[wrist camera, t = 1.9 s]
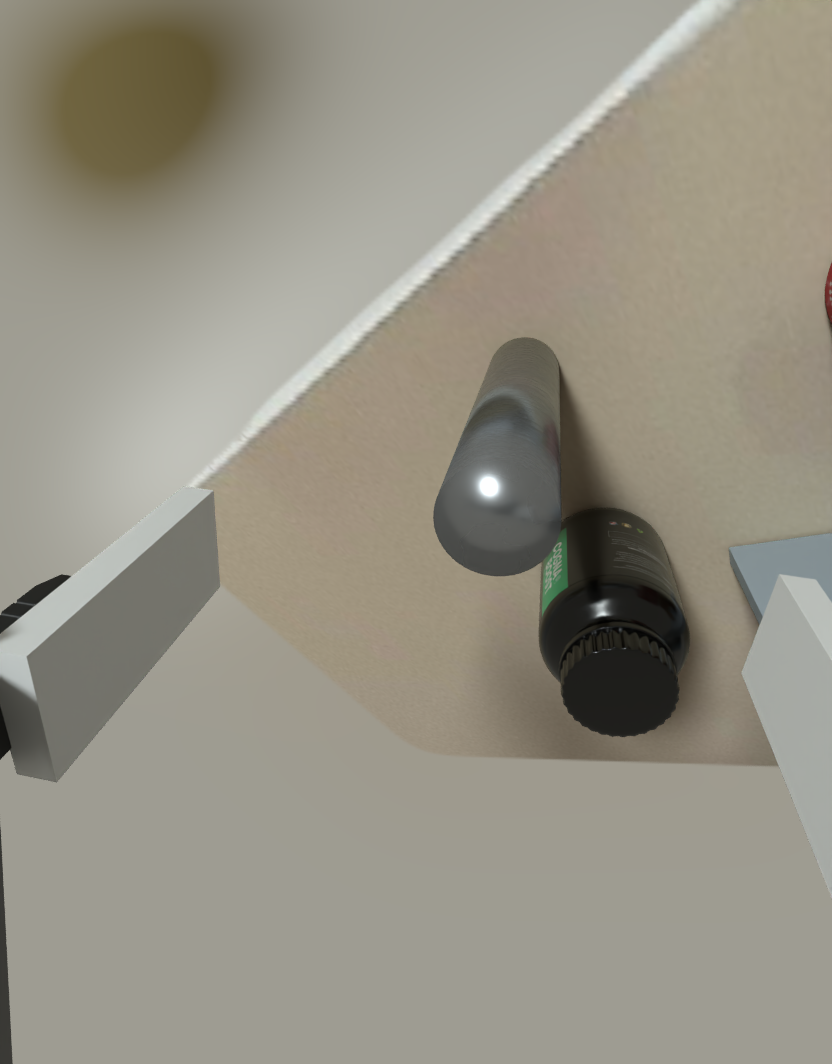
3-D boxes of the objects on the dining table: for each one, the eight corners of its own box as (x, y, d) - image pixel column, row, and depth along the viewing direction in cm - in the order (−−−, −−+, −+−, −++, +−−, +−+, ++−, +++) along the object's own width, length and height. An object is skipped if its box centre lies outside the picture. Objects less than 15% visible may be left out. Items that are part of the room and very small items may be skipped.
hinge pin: (564, 341, 34) (572, 470, 18) (552, 410, 35) (549, 585, 20) (493, 333, 34) (439, 452, 18) (484, 402, 36) (428, 565, 20)
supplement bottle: (522, 530, 39) (509, 655, 28) (638, 485, 36) (672, 604, 26) (569, 622, 41) (574, 771, 30) (682, 586, 38) (730, 733, 28)
